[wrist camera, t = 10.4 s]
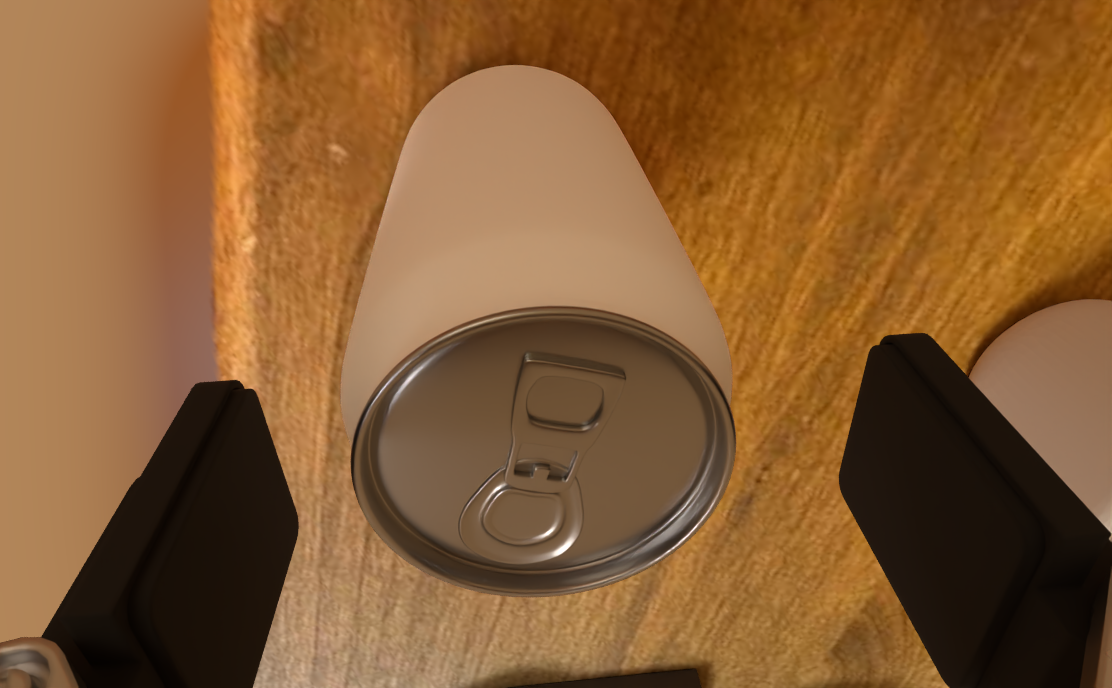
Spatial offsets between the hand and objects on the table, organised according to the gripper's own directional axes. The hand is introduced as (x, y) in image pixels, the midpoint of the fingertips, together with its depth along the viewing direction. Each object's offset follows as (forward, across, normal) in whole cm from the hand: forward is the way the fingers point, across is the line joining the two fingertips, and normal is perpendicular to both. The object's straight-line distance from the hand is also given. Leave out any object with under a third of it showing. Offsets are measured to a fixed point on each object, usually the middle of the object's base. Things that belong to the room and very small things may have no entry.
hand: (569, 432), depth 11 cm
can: (+11, +1, 0) cm, 11 cm away
